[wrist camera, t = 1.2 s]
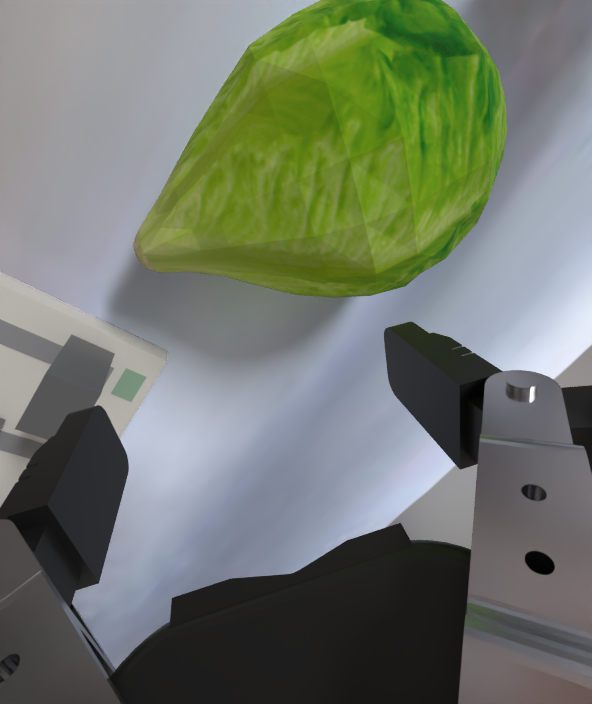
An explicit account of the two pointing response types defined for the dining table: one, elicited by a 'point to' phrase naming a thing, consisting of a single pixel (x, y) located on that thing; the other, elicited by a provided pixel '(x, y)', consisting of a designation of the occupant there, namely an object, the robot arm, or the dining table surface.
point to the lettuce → (337, 154)
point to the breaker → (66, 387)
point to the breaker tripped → (2, 422)
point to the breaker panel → (39, 353)
